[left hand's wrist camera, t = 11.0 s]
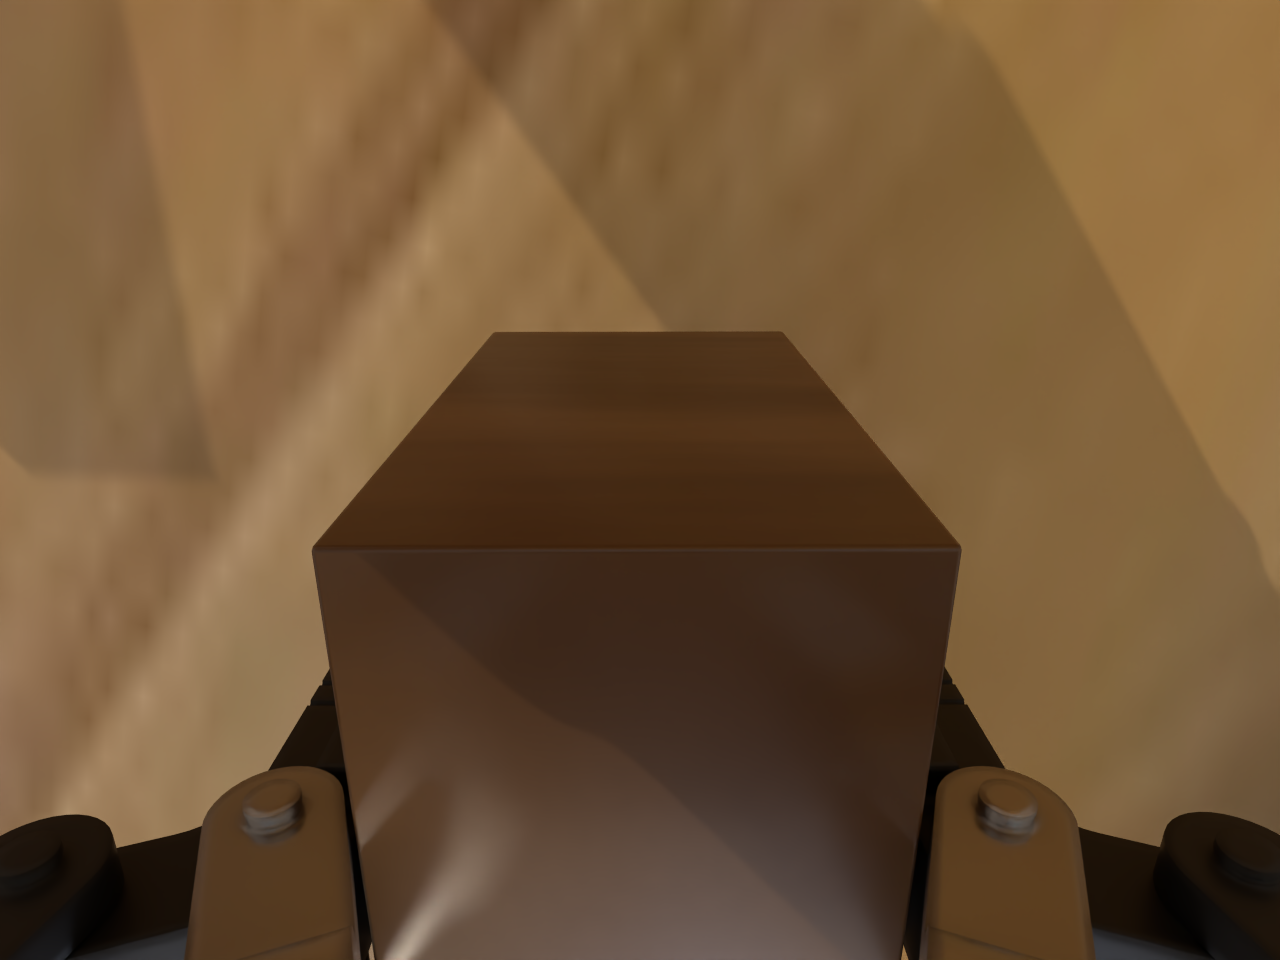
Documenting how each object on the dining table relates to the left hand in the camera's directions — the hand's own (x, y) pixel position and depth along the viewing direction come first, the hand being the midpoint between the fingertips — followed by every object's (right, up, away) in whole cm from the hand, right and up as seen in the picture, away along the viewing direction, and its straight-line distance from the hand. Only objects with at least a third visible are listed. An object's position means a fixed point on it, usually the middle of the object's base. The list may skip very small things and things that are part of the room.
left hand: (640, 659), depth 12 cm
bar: (0, -7, +7) cm, 10 cm away
